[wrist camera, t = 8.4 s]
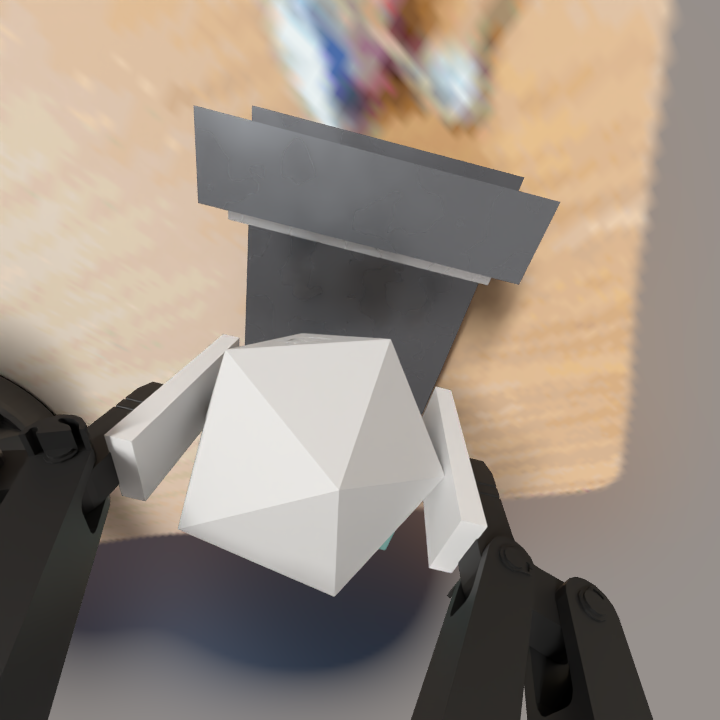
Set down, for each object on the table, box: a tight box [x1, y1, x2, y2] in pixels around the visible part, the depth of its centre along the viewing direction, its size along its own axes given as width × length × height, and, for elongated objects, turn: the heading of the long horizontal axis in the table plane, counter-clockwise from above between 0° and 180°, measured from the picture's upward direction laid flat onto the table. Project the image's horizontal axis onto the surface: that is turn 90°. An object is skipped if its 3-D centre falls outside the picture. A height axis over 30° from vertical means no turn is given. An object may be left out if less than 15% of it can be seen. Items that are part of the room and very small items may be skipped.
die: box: [178, 333, 445, 596], centre depth 11 cm, size 8×9×10 cm
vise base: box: [194, 106, 560, 415], centre depth 20 cm, size 14×26×8 cm, turn 168°
